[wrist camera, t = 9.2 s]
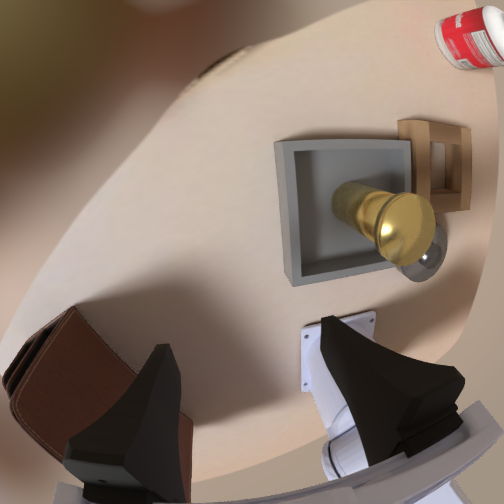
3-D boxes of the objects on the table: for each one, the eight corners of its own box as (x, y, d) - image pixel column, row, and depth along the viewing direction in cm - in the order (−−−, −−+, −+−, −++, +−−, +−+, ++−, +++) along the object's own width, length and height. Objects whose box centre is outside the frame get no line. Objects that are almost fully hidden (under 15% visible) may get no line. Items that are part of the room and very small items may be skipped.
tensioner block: (454, 203, 23) (469, 209, 21) (399, 209, 22) (415, 215, 20) (454, 128, 20) (470, 129, 18) (397, 120, 20) (414, 119, 17)
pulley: (432, 268, 26) (448, 279, 23) (390, 279, 25) (405, 292, 22) (438, 214, 23) (457, 222, 21) (394, 220, 23) (413, 229, 20)
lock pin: (371, 225, 22) (430, 261, 15) (326, 230, 22) (377, 270, 14) (372, 176, 20) (438, 194, 13) (326, 177, 20) (383, 195, 13)
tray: (390, 253, 24) (405, 264, 22) (284, 272, 23) (292, 286, 21) (391, 140, 20) (410, 140, 18) (273, 142, 19) (282, 141, 17)
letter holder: (73, 302, 22) (2, 416, 9) (194, 420, 29) (197, 522, 16) (27, 337, 22) (-28, 427, 9) (138, 436, 30) (129, 522, 17)
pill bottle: (448, 16, 15) (517, -2, 5) (474, 61, 17) (546, 56, 7) (423, 27, 16) (502, 3, 6) (454, 77, 18) (536, 73, 8)
